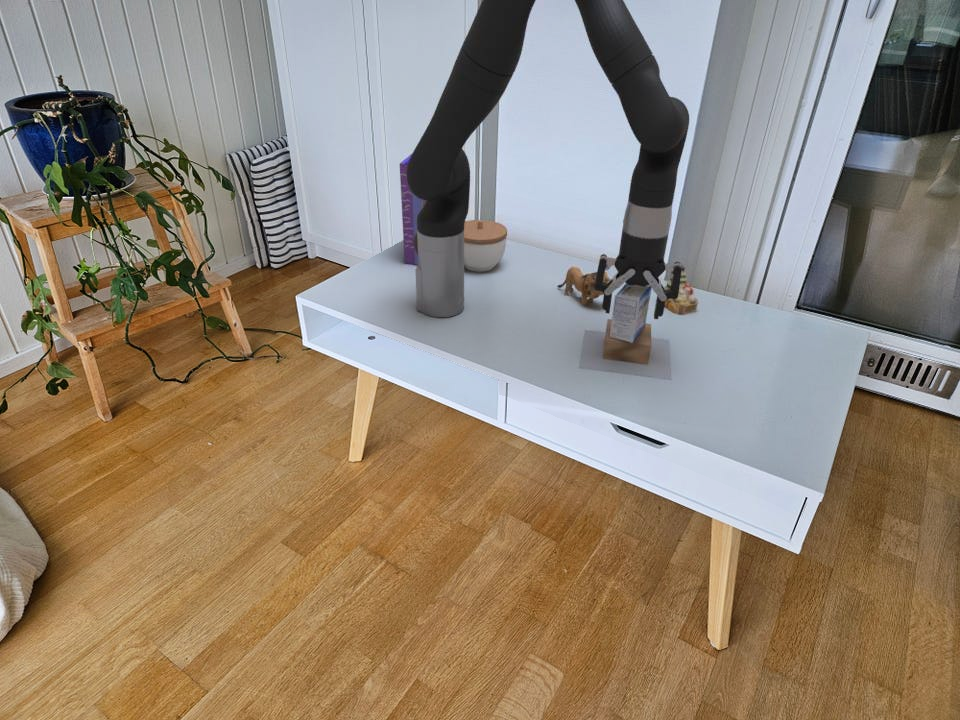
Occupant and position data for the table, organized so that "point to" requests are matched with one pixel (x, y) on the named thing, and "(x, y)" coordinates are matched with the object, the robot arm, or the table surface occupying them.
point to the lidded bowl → (483, 244)
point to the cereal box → (409, 216)
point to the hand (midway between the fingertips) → (631, 314)
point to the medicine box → (630, 312)
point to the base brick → (628, 347)
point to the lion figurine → (583, 284)
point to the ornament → (682, 297)
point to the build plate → (594, 361)
